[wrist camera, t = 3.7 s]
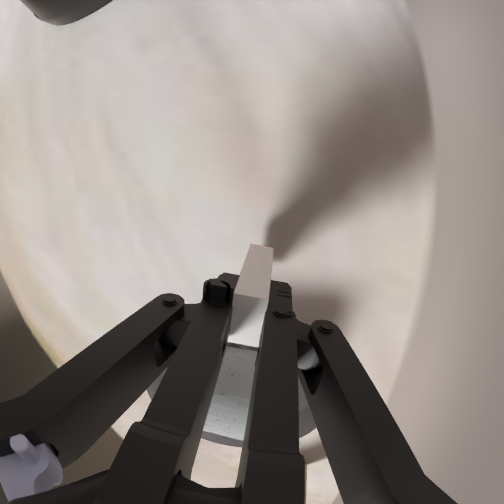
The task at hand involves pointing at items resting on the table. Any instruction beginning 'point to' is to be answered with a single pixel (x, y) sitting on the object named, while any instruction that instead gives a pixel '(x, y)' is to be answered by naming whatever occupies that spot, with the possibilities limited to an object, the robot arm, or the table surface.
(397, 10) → the table surface
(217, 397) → the ceramic mug
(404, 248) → the table surface
